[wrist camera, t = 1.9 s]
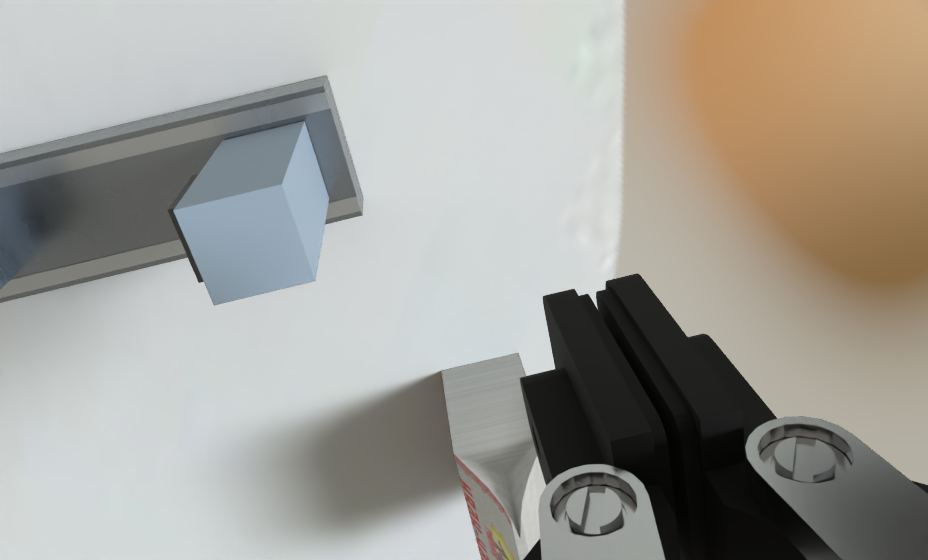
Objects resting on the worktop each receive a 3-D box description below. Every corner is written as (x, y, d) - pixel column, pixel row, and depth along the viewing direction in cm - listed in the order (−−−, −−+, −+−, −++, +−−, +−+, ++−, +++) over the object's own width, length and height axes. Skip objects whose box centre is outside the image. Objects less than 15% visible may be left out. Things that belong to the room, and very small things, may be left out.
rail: (-115, 181, 27) (-323, 290, 19) (327, 75, 27) (307, 138, 19) (-44, 295, 29) (-203, 436, 21) (363, 197, 29) (358, 300, 21)
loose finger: (206, 144, 26) (151, 215, 19) (304, 121, 26) (281, 184, 19) (235, 220, 27) (193, 310, 21) (329, 198, 27) (315, 280, 21)
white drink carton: (518, 352, 33) (570, 507, 25) (539, 461, 37) (592, 634, 28) (441, 370, 33) (465, 532, 25) (468, 478, 36) (499, 656, 28)
